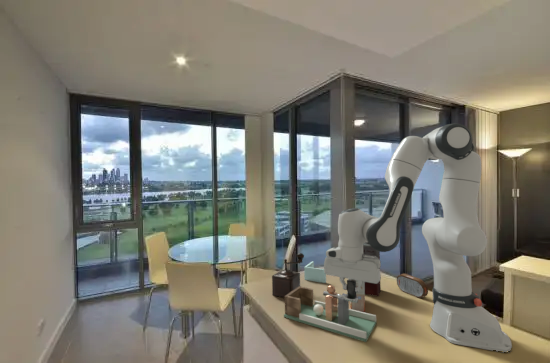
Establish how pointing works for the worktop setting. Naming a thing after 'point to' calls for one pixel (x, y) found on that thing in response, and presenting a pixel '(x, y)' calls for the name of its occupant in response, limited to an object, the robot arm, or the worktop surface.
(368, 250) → the toy vending machine
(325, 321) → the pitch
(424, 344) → the worktop surface
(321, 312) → the ball
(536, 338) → the worktop surface
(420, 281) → the tin
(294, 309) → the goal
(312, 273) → the right angle wall
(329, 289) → the black head mallet
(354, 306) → the cracker box
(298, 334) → the worktop surface
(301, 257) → the manual coffee grinder
